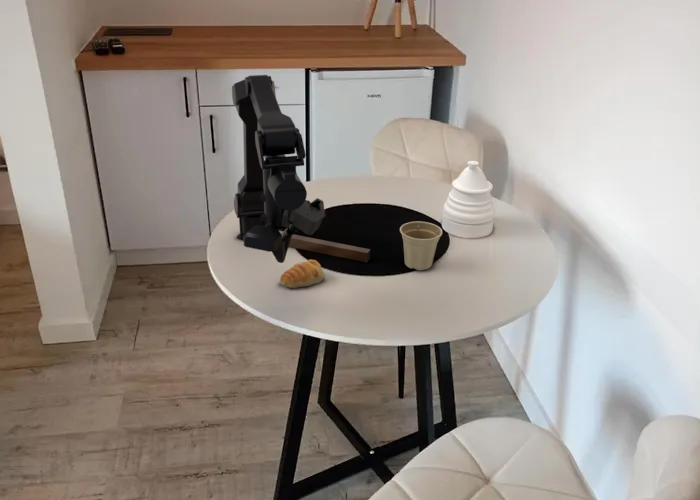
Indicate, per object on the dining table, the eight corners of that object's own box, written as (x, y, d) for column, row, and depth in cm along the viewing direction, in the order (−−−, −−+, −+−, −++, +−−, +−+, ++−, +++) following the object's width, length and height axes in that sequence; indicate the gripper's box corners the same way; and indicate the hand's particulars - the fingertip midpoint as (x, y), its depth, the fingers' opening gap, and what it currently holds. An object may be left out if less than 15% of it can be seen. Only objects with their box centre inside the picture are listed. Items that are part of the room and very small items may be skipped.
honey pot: (488, 241, 166) (497, 172, 158) (436, 233, 169) (443, 165, 161) (495, 220, 177) (504, 154, 168) (447, 213, 180) (453, 148, 172)
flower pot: (416, 250, 161) (418, 217, 157) (447, 264, 155) (450, 230, 151) (389, 263, 155) (391, 229, 151) (421, 278, 149) (423, 243, 145)
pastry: (291, 294, 142) (290, 278, 140) (273, 281, 147) (272, 265, 145) (327, 280, 148) (327, 265, 146) (308, 268, 152) (308, 253, 150)
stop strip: (287, 246, 161) (287, 237, 160) (291, 243, 163) (291, 233, 162) (367, 262, 155) (367, 253, 154) (370, 258, 157) (370, 249, 156)
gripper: (297, 215, 117) (298, 293, 124) (337, 178, 132) (336, 249, 140) (239, 204, 120) (244, 280, 127) (285, 169, 136) (287, 239, 143)
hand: (281, 262), depth 134 cm, fingers closed
